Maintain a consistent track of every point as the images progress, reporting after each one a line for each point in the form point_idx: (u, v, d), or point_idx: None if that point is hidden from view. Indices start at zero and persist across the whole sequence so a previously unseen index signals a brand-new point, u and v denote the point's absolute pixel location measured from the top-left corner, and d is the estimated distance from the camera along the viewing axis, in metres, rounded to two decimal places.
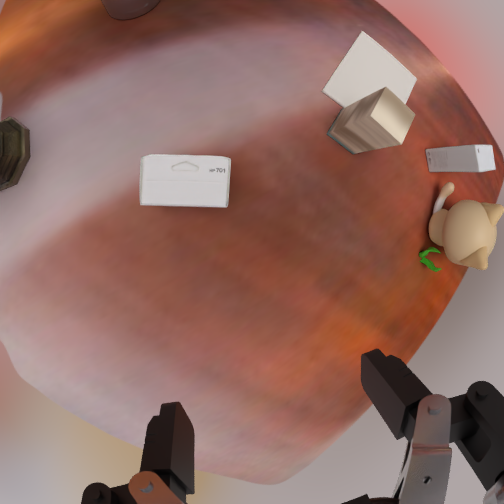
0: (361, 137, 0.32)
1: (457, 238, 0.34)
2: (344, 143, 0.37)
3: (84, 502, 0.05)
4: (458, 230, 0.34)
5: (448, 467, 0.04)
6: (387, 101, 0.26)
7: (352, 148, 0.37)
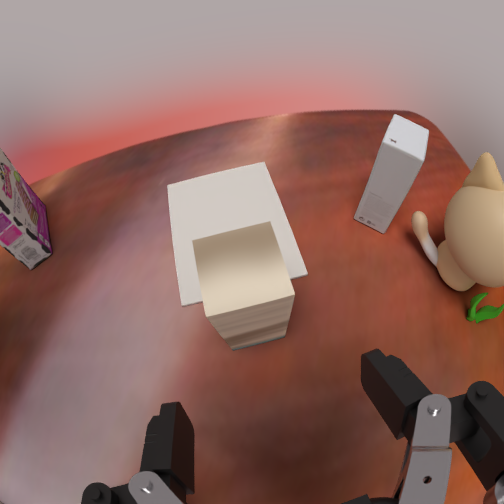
0: (255, 329, 0.20)
1: (491, 263, 0.18)
2: (259, 341, 0.25)
3: (84, 502, 0.05)
4: (482, 255, 0.18)
5: (448, 467, 0.04)
6: (213, 259, 0.17)
7: (273, 336, 0.25)
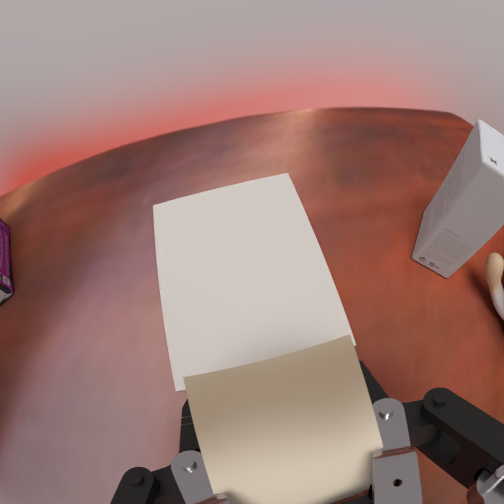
0: None
1: None
2: None
3: (122, 485, 0.06)
4: None
5: (416, 466, 0.05)
6: (232, 424, 0.07)
7: None
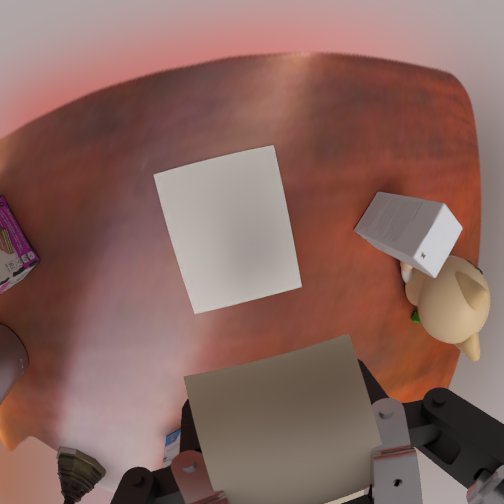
0: None
1: (437, 337, 0.28)
2: None
3: (122, 485, 0.06)
4: (434, 332, 0.27)
5: (417, 466, 0.05)
6: (232, 423, 0.07)
7: None
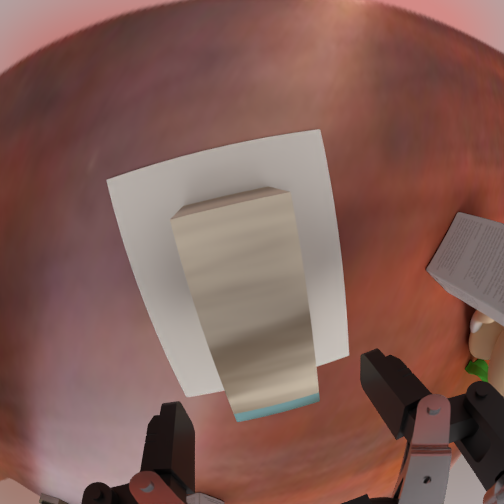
0: (257, 326, 0.13)
1: None
2: (277, 398, 0.14)
3: (85, 502, 0.05)
4: None
5: (448, 467, 0.04)
6: (199, 204, 0.14)
7: (299, 388, 0.14)
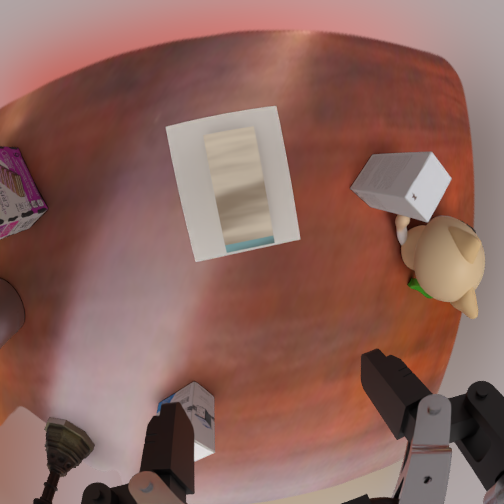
0: (238, 186, 0.27)
1: (434, 294, 0.29)
2: (249, 235, 0.29)
3: (84, 503, 0.05)
4: (431, 287, 0.29)
5: (448, 467, 0.04)
6: None
7: (261, 229, 0.29)
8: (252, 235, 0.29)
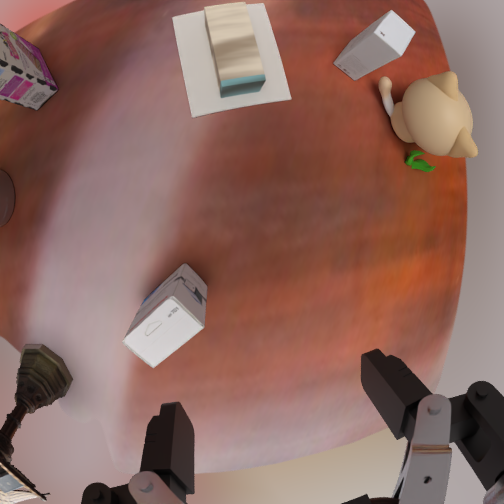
0: (232, 37, 0.26)
1: (429, 139, 0.28)
2: (243, 73, 0.27)
3: (84, 502, 0.05)
4: (424, 131, 0.27)
5: (448, 467, 0.04)
6: None
7: (253, 68, 0.27)
8: (245, 73, 0.27)
